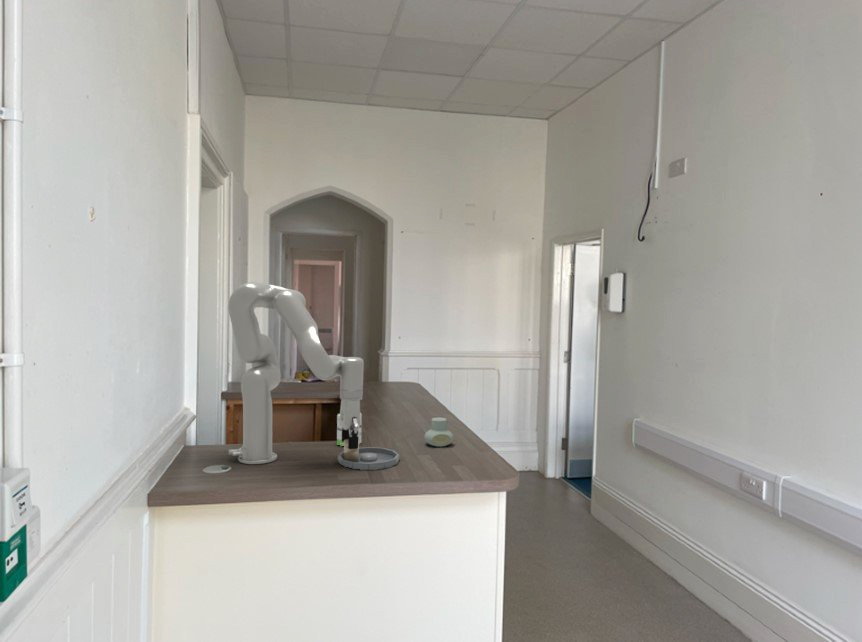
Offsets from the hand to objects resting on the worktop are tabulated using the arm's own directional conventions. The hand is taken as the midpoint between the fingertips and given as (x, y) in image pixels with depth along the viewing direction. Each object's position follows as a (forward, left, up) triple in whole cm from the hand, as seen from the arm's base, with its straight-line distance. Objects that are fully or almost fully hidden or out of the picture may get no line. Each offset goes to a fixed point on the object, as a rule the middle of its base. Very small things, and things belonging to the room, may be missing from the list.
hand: (349, 444), depth 196 cm
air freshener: (+38, +13, -6) cm, 40 cm away
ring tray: (+7, 0, -6) cm, 9 cm away
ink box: (+6, +24, -6) cm, 25 cm away
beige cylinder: (+1, 0, -6) cm, 6 cm away
